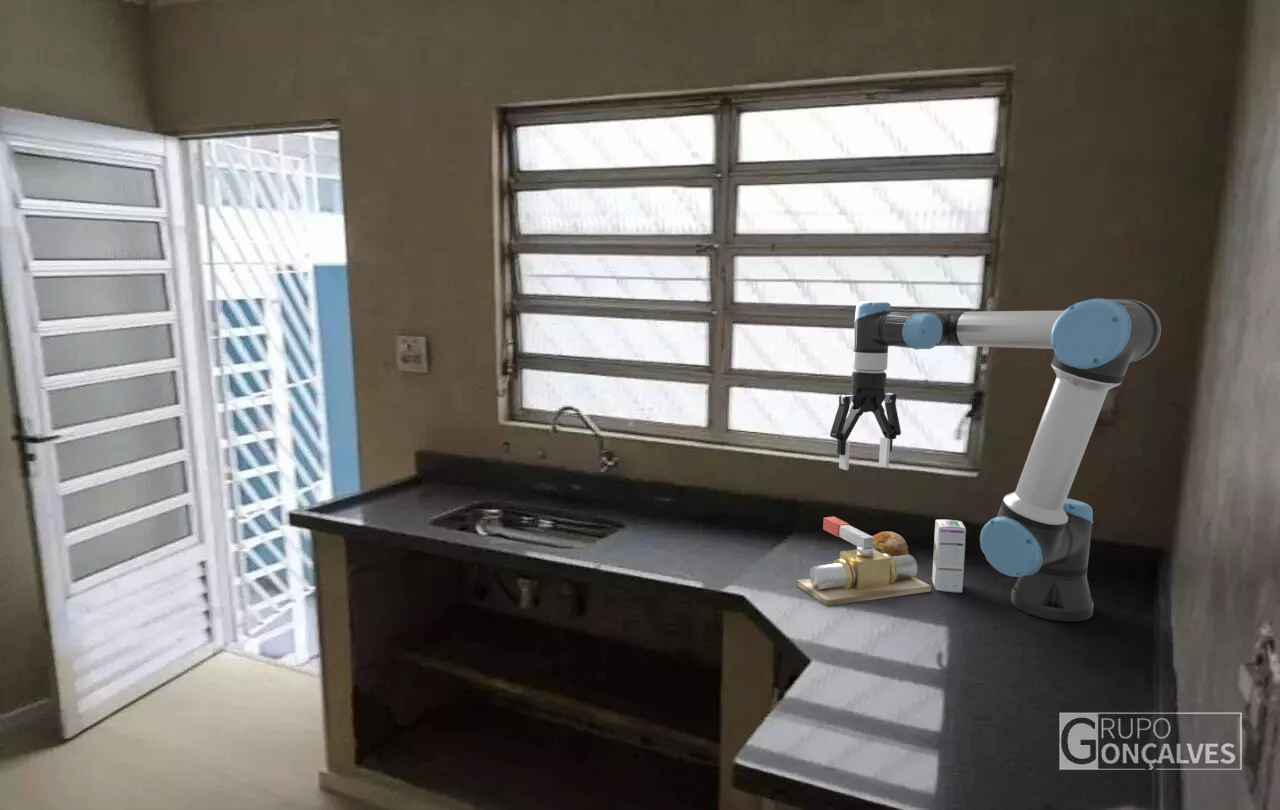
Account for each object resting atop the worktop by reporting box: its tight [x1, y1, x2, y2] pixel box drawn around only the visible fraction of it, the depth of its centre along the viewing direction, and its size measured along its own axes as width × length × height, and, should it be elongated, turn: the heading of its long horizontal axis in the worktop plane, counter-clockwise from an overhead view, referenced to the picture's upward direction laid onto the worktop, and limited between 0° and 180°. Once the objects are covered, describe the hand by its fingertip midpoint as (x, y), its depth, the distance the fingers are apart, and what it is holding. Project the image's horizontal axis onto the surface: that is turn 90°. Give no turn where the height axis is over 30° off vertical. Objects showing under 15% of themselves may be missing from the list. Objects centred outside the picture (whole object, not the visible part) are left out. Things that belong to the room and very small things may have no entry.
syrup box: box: [931, 519, 967, 593], centre depth 179 cm, size 6×6×14 cm
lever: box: [822, 516, 874, 557], centre depth 183 cm, size 16×4×4 cm, turn 20°
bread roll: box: [871, 530, 909, 557], centre depth 199 cm, size 10×10×8 cm
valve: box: [809, 549, 918, 591], centre depth 178 cm, size 24×7×7 cm, turn 110°
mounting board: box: [795, 576, 932, 607], centre depth 179 cm, size 12×26×1 cm, turn 110°
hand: (863, 467), depth 189 cm, fingers open, 10 cm apart
